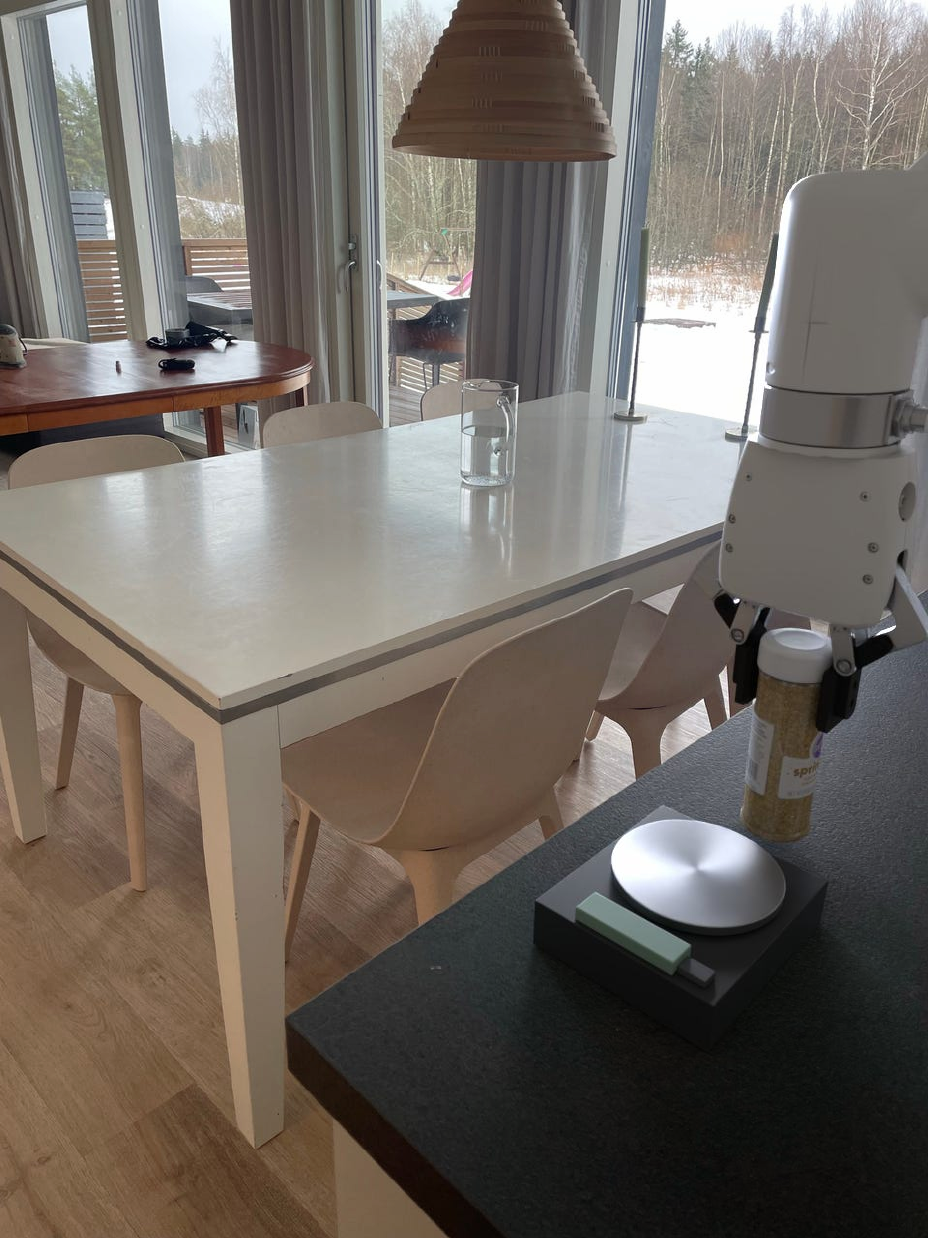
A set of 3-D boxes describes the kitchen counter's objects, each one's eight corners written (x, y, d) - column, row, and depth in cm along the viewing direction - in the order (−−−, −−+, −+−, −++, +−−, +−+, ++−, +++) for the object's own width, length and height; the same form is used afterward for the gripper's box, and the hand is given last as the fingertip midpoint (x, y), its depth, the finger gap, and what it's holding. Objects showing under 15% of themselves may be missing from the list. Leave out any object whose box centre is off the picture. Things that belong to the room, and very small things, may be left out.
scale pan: (667, 809, 59) (668, 801, 59) (813, 876, 53) (815, 867, 53) (576, 878, 52) (577, 870, 52) (731, 964, 46) (732, 954, 46)
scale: (658, 843, 61) (663, 793, 60) (820, 922, 54) (831, 868, 53) (532, 943, 52) (535, 888, 51) (707, 1053, 45) (715, 993, 44)
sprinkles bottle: (808, 852, 59) (838, 659, 54) (734, 837, 60) (757, 648, 55) (811, 813, 63) (840, 630, 58) (741, 800, 64) (763, 621, 59)
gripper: (1019, 427, 48) (952, 733, 55) (725, 394, 59) (700, 654, 66) (973, 450, 43) (906, 784, 50) (661, 410, 54) (641, 689, 61)
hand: (789, 707), depth 58 cm, fingers closed on sprinkles bottle, 4 cm apart
